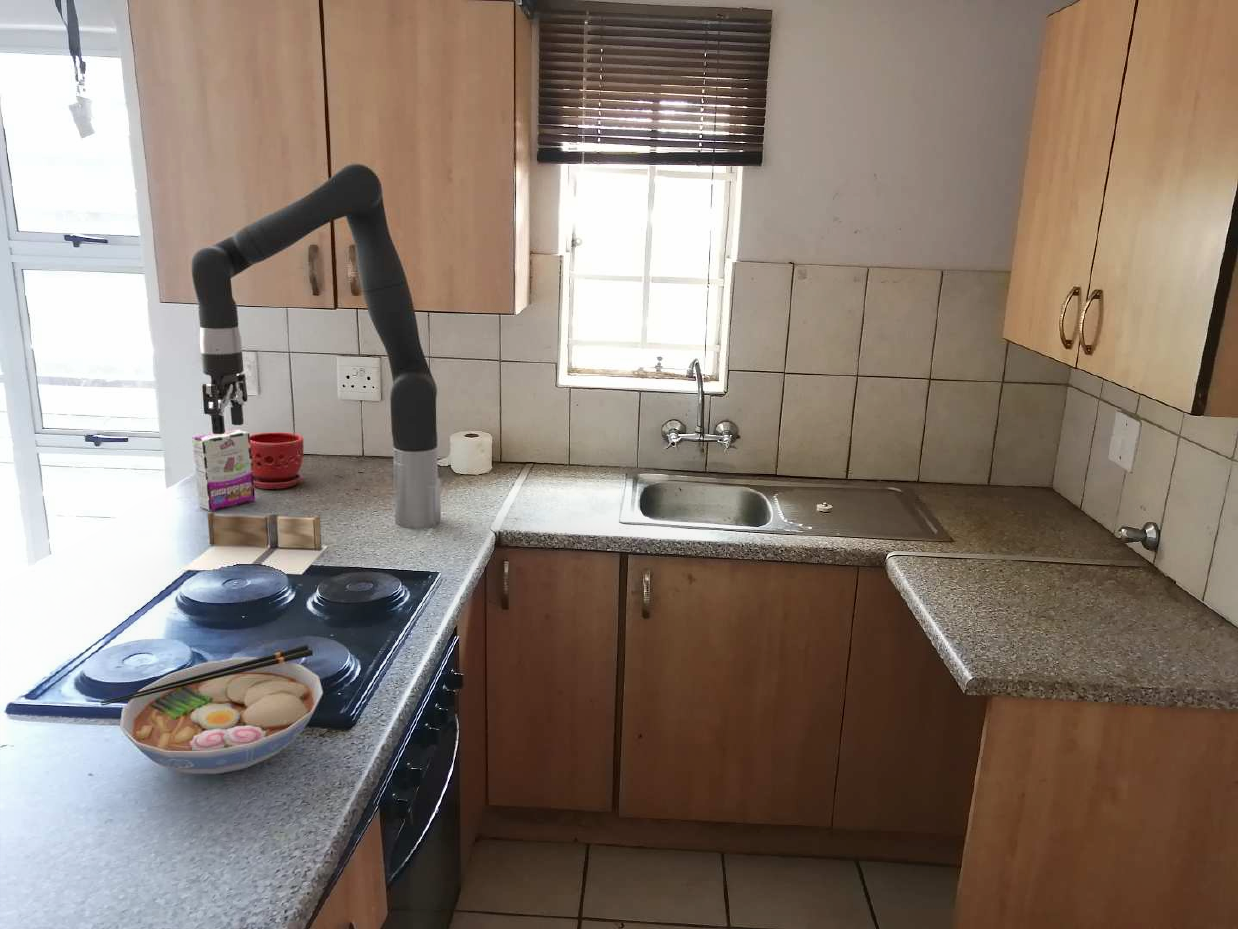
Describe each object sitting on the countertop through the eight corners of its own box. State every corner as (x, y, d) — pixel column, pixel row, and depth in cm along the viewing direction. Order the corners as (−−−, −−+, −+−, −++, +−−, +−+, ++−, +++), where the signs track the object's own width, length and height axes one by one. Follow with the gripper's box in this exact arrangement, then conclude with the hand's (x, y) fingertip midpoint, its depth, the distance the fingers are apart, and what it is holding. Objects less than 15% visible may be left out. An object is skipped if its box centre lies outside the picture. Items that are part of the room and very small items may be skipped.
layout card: (328, 547, 182) (327, 545, 182) (301, 576, 168) (301, 573, 168) (218, 543, 182) (218, 541, 182) (182, 571, 168) (182, 569, 168)
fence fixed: (322, 548, 181) (321, 515, 179) (320, 550, 180) (318, 518, 178) (271, 546, 181) (269, 513, 179) (268, 548, 180) (266, 516, 178)
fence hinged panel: (269, 544, 181) (267, 514, 179) (266, 546, 180) (264, 516, 178) (211, 542, 181) (208, 511, 179) (208, 544, 180) (206, 513, 178)
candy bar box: (243, 496, 212) (238, 428, 208) (255, 501, 210) (250, 431, 205) (197, 507, 204) (191, 436, 200) (209, 512, 201) (203, 440, 197)
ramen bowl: (133, 841, 97) (124, 773, 95) (101, 740, 115) (94, 681, 112) (361, 767, 111) (359, 707, 109) (302, 688, 129) (299, 635, 127)
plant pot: (287, 494, 216) (284, 445, 213) (237, 489, 218) (233, 440, 215) (315, 479, 228) (313, 433, 225) (267, 475, 230) (264, 428, 227)
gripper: (223, 355, 174) (231, 437, 178) (255, 345, 188) (261, 422, 192) (185, 354, 174) (193, 436, 179) (219, 344, 188) (226, 421, 192)
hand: (228, 429), depth 185 cm, fingers open, 8 cm apart
